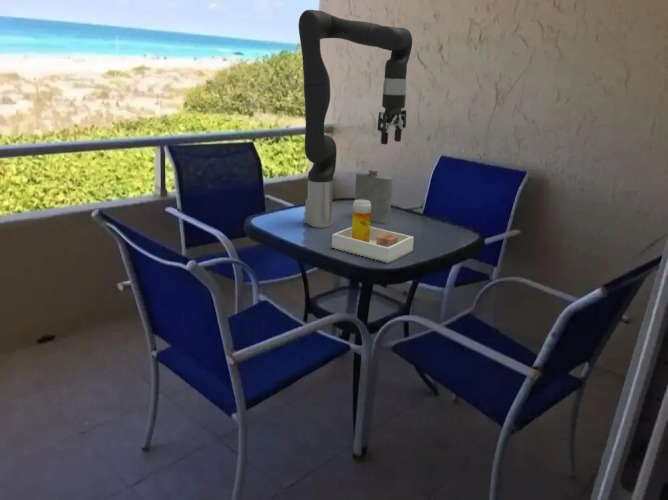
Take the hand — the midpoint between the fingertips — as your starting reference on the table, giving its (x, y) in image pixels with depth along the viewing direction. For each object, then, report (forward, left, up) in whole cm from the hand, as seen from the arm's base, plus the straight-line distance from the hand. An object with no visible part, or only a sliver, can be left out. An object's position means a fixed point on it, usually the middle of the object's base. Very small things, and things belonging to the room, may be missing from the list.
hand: (391, 142), depth 195 cm
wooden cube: (+9, -13, -33) cm, 37 cm away
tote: (+3, -13, -34) cm, 36 cm away
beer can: (-2, -13, -33) cm, 36 cm away
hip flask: (-17, +17, -34) cm, 42 cm away
